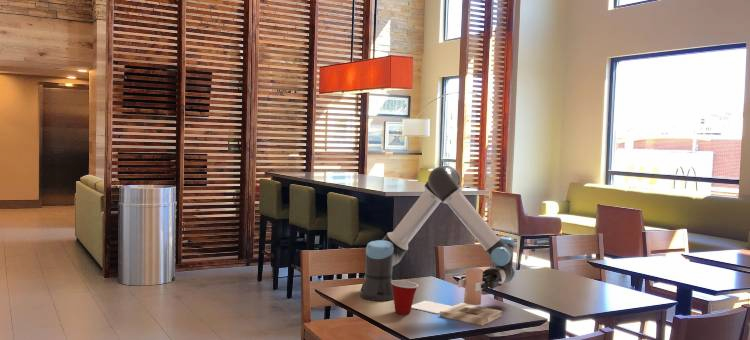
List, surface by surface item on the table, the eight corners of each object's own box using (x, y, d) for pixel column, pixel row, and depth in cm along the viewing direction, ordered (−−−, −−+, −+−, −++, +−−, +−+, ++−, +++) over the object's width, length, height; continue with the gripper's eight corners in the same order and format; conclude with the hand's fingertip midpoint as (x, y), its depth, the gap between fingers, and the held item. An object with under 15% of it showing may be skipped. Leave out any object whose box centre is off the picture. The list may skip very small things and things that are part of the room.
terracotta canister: (461, 302, 250) (463, 269, 250) (468, 299, 256) (470, 267, 255) (476, 305, 247) (478, 272, 246) (483, 302, 252) (485, 270, 251)
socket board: (439, 316, 249) (440, 311, 249) (461, 307, 264) (461, 302, 264) (482, 325, 239) (482, 320, 239) (502, 316, 254) (502, 311, 254)
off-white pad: (407, 307, 260) (407, 306, 260) (425, 301, 272) (425, 300, 271) (437, 314, 252) (437, 313, 252) (454, 307, 263) (454, 306, 263)
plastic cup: (414, 317, 245) (416, 286, 245) (387, 314, 248) (388, 284, 247) (418, 310, 256) (420, 280, 255) (392, 308, 258) (393, 278, 258)
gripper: (514, 290, 260) (490, 300, 241) (471, 282, 271) (444, 290, 252) (515, 272, 260) (491, 280, 241) (472, 264, 271) (446, 271, 252)
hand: (467, 285), depth 247 cm, fingers closed on terracotta canister, 6 cm apart
